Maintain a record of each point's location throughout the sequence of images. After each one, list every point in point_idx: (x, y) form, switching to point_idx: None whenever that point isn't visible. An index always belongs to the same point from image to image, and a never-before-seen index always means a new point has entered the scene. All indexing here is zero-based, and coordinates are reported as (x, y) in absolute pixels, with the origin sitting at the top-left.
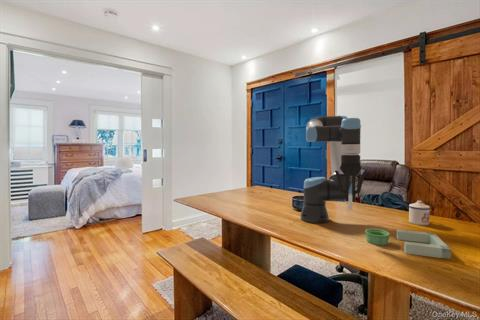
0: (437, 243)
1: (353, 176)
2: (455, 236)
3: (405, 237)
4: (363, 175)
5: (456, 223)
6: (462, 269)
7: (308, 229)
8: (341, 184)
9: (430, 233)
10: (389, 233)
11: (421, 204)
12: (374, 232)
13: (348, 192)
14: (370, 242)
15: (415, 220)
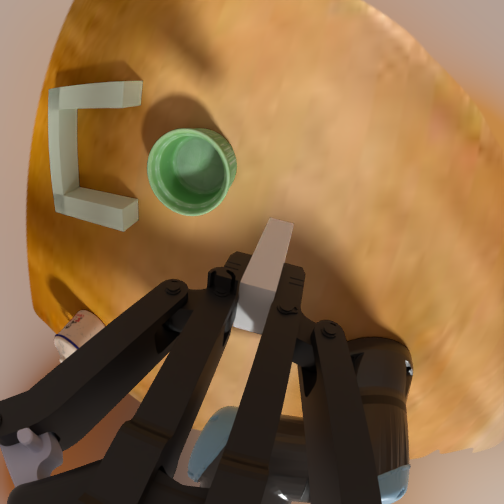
0: (59, 124)
1: (138, 456)
2: (44, 243)
3: (115, 198)
4: (27, 406)
5: (49, 314)
6: (70, 36)
7: (428, 276)
8: (337, 398)
9: (60, 207)
10: (147, 166)
11: (61, 350)
12: (194, 203)
13: (271, 307)
14: (227, 142)
15: (92, 323)
